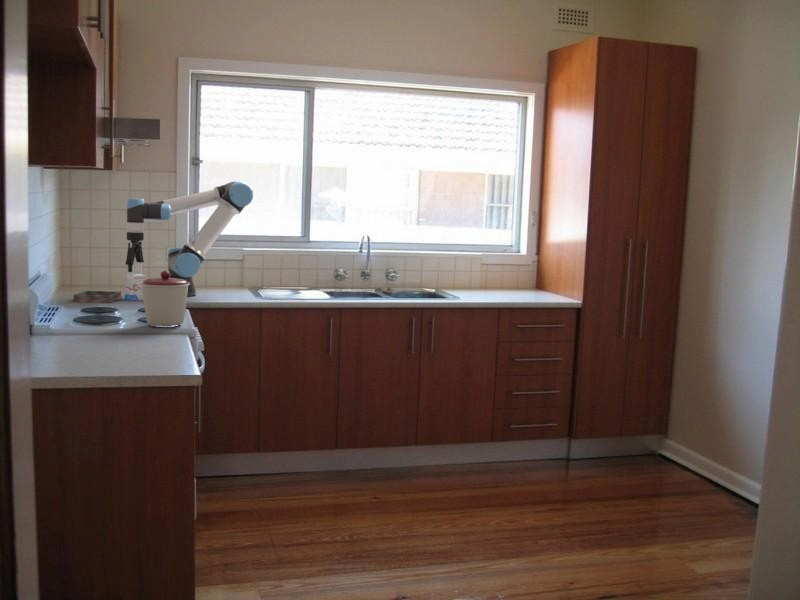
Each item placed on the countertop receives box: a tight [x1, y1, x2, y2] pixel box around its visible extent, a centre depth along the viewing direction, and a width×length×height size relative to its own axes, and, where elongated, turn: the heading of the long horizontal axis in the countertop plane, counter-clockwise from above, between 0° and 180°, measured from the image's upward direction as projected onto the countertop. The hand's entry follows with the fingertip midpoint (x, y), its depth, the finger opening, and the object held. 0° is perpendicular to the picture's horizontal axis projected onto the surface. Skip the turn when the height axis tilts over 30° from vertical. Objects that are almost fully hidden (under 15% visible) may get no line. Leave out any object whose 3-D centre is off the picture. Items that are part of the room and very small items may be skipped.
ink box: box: [124, 273, 147, 302], centre depth 386 cm, size 9×5×12 cm, turn 143°
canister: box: [140, 270, 190, 326], centre depth 315 cm, size 18×18×21 cm
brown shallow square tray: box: [72, 290, 123, 304], centre depth 382 cm, size 17×17×3 cm
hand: (134, 277), depth 385 cm, fingers open, 13 cm apart
